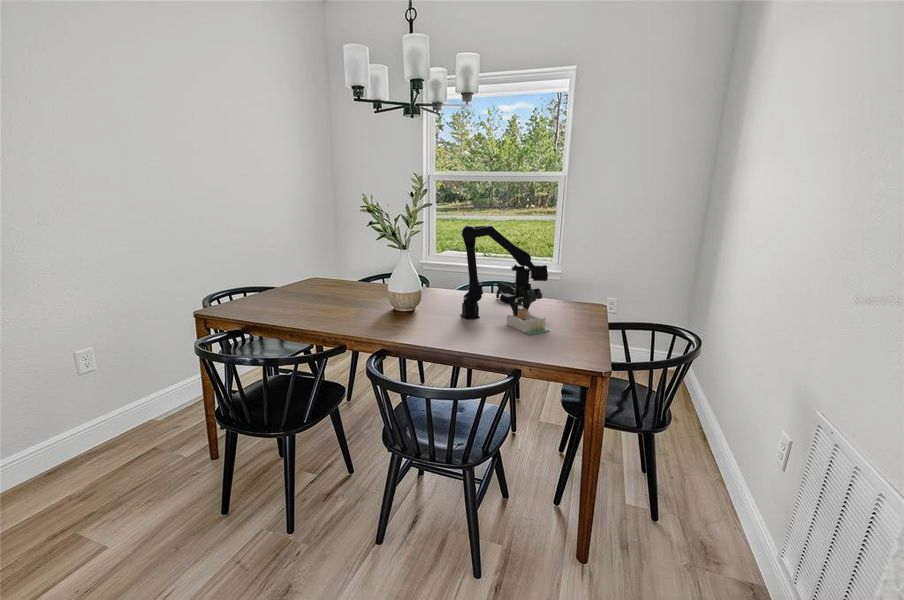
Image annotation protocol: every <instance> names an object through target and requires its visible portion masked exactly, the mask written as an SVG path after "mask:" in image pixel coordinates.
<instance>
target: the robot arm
mask: <svg viewBox="0 0 904 600" xmlns="http://www.w3.org/2000/svg"><path fill="white" fill-rule="evenodd" d="M461 231H462V232H461V235H462V239H463V243H464V245H465V249H466V250H465V251H466V257H467V258H466V259H467V269H468V279H469V280H468V291H467V292H466V293H465V294H464V295H463V302H461V314H459V315H460V317H462V318H464V319H465V320H473V319H479V318H481V316H479V313H480V312H479V311H480V307H479V303H478V302H480V301H481V299H482V298H483V296H482V295H484V289H483V281H479V279H478V268H477V258H476V257H477V255H476V241H477V238H481V237H486V236H487V237H490V238H491V239H492V240H493V241H494V242H496V243H497V244H498V245H499V246H501V247H502V248H504V250H505V251H507V252H508V253H509V254H510V255H511V256H512V257H513V259H514V260H515V261H516V262H517V264H518V265H517V264H514V265H513V266H512V267H511V268H510V269H511V271H512V272H515V281H514V282H513V285H514V289H515V291H513V294H515V295H511V294H500V295H499V301H500V302H503V303H505V304H507V305H510V308H511V309H512V314H513V313H514V315H515V316H516V317H517V311H518V306H520V304H519V302H518V299H522V298H523V303H522V307H524V308H526V309H528V310H529V309H530V307H531V305H532V304H533V303H534V302H536V301H537V300H541V299H543V293H542V292H541V289H540V288H532V283H530V279H531V280H532V281H534V282H548V278H549V273H548V265H546V264H542V265H540V264H536V265H535V264H534V262H532V256H531V255H530V254H529V252H528V251H526V250H525V249H523V248H521V247H520V246H517V245H515V243H512V242H511V241H510V240H509V239H508V238H507V237H505V236H504V235H503V234H502V233H501V232H499V231H498V230H497V229H496V228H494V226H493V225H491V224H488V225H476V226H474V225H472V224H468V225H465V226H464V227H463V228H462V230H461Z"/></svg>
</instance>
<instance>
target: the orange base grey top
mask: <svg viewBox="0 0 904 600" xmlns="http://www.w3.org/2000/svg"><path fill="white" fill-rule="evenodd" d="M526 312H529V309H526V308H524V307H523V305H522V306H521V305H518V311H517V318H519V319H521V320H523V321H524V320H526ZM512 316H515V315H514V313H513V312H512ZM515 317H516V316H515Z"/></svg>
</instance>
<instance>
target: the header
mask: <svg viewBox="0 0 904 600" xmlns="http://www.w3.org/2000/svg"><path fill="white" fill-rule="evenodd" d="M506 326H510V327H513V328H514V329H516V330H518V331H520V330H521V332H522V333H524V334H526V335H527V336H529V335H530V336H536V335H539V334H545V333H548V332H549V333H550V331H551V330H550V329H549V328H546V327H545V326H546V317H544V316H540V317H539V316H537V315H534V314H532V313H531V312H530V311H528V312H526V319H523V320H521V319H519V318H517V317H515V316H513V315H510V314H507V315H506Z"/></svg>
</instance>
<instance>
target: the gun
mask: <svg viewBox="0 0 904 600" xmlns="http://www.w3.org/2000/svg"><path fill="white" fill-rule="evenodd" d="M496 285H497V288H498V289H497V291H496V295H495V297H496V299H497V298H499V299H500V296H501V295H502V294H511V295H515V294H513V291H515V287H513V286H512V285H510V284H507V283H505V282H504V281H499V282H498V283H497V284H496ZM518 302H519V305H520V303H521V304H523V298H522V299H518Z"/></svg>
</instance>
